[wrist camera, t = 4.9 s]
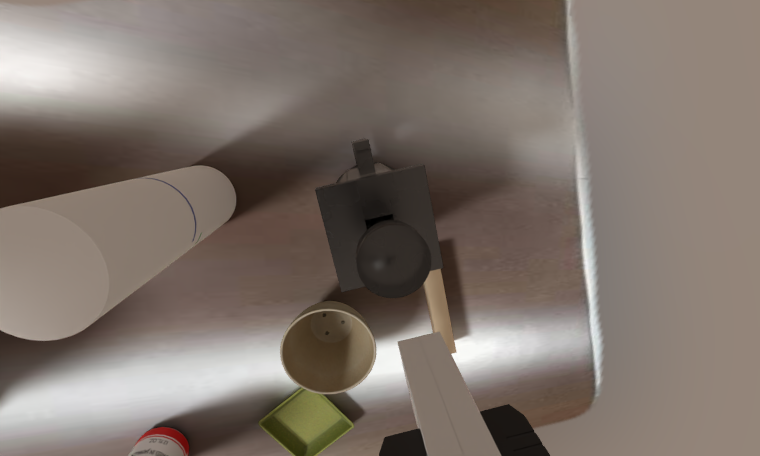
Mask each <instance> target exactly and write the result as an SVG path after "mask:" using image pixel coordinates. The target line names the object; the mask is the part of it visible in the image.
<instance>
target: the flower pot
mask: <svg viewBox="0 0 760 456" xmlns="http://www.w3.org/2000/svg"><path fill="white" fill-rule="evenodd" d="M323 315H325V317H324V316H323ZM328 332H329V334H327V333H328ZM280 355H281V361H282V365H283V367H284V369H285V371H286V373H287V375H288V376H289V377H290V378H291V379H292V380H293V381H294V382H295V383H296V384H297V385H299V386H300V387H302V388H304V389H306V390H308V391H311V392H314V393H318V394H336V393H341V392H345V391H347V390H350V389H352V388H354V387H355V386H357V385H358V384H360V383H361V382H362V381H363V380H364V379H365V378H366V377H367V376H368V374H369V373H370V371H371V370H372V367H373V365H374V362H375V358H376V344H375V340H374V337H373V334H372V332H371V329H370V327H369V326H368V324H367V322H366V321H365V320H364V318H363V317H362V316H361V315H360V314H359V313H358V312H357V311H356V310H355V309H353V308H352V307H350V306H348V305H346V304H344V303H341V302H337V301H325V302H320V303H317V304H315V305H312V306H310V307H309V308H307V309H306V310H304V311H303V312H302V313H301V314H299V315H298V316H297V317H296V318H295V320H294V321H293V322H292V323H291V324H290V326H289V327H288V329H287V331H286V332H285V334H284V336H283V339H282V342H281V348H280Z"/></svg>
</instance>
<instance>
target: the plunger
mask: <svg viewBox="0 0 760 456" xmlns="http://www.w3.org/2000/svg"><path fill="white" fill-rule="evenodd" d="M365 223H366V227H367V230H366V232H365V233H364V234H363V235H362V236H361V238H360V240H359V242H358V245H357V249H356V264H357V271H358V274H359V277H360V279H361V281H362V282H363V284H364V285H365V286H366V287H367V288H368V289H369V290H370V291H371V292H373V293H375V294H377V295H379V296H382V297H386V298H399V297H404V296H407V295H409V294H411V293H413V292H415V291H416V290H417V289H419V288H420V287H421V286H422V285H423V283H424V282H425V281H426V279H427V277H428V275H429V273H430V269H431V253H430V249H429V247H428V245H427V243H426V242H425V240H424V239H423V238H422V236H421V235H420V234H419V232H418V231H417V230H416V229H415V228H414V227H412V226H411V225H409V224H407V223H405V222H402V221H397V220H393V219H392V214H389V215H385V216H381V217H376V218H372V219H368V220H365Z"/></svg>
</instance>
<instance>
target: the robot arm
mask: <svg viewBox="0 0 760 456" xmlns="http://www.w3.org/2000/svg"><path fill="white" fill-rule="evenodd" d="M398 346H399V350H400V354H401V359H402V363H403V368H404V372H405V376H406V381H407V385H408V389H409V394H410V398H411V403H412V407H413V411H414V415H415V419H416V423H417V426H418V429H415V430H411V431H407V432H403V433H399V434H395V435H391V436H388V437H385V438H384V441H383V444H382V447H381V450H380V453H379V456H550V454H549V453H548V451H547V450H546V448H545V447H544V446H543V445H542V442H541V441H540V439H539V437H538V436H537V434H536V433H534V430H533V428H532V427H531V425H530V424H529V422H528V420H527V419H526V417H525V416H524V415H523V414H522V413H520V412H519V411H517V410H516V409H515V408H513V407H512V406H510V405H509V404H508V405H504V406H500V407H496V408H492V409H488V410H484V411H480V412H479V410H478V408H477V406H476V404H475V402H474V400H473V398H472V396H471V394H470V392H469V390H468V387H467V385H466V383H465V381H464V379H463V377H462V375H461V373H460V371H459V369H458V367H457V365H456V363H455V361H454V359H453V357H452V355H451V353H450V351H449V349H448V347H447V345H446V343H445V341H444V339H443V337H442V335H441V333H440V331H439V332H435V333H431V334H427V335H423V336H419V337H415V338H411V339H407V340H403V341H399V342H398Z"/></svg>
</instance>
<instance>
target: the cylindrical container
mask: <svg viewBox="0 0 760 456" xmlns="http://www.w3.org/2000/svg"><path fill="white" fill-rule="evenodd" d="M235 207H236V193H235V190H234V187H233V185H232V183H231V182H230V180H229V179H228V178H227V177H226V176H225V175H224V174H223V173H222V172H220V171H219V170H217V169H215V168H212V167H209V166H203V165H198V166H191V167H186V168H182V169H177V170H172V171H168V172H163V173H159V174H154V175H150V176H145V177H140V178H136V179H131V180H127V181H122V182H117V183H113V184H108V185H104V186H99V187H94V188H90V189H85V190H81V191H76V192H72V193H67V194H62V195H58V196H53V197H49V198H44V199H40V200H35V201H31V202H26V203H22V204H17V205H12V206H8V207H4V208H0V330H1V331H3V332H5V333H8V334H10V335H13V336H16V337H19V338H24V339H28V340H37V341H50V340H59V339H63V338H66V337H70V336H73V335H75V334H77V333H79V332H81V331H83V330H84V329H86V328H87V327H88V326H90V325H91V324H92V323H94V322H95V321H96V320H98V319H99V318H100V317H102V316H103V315H104V314H105V313H107V312H108V311H109V310H111V309H112V308H113V307H115V306H116V305H117V304H119V303H120V302H121V301H123V300H124V299H125V298H127V297H128V296H129V295H131V294H132V293H133V292H135V291H136V290H137V289H139V288H140V287H141V286H142V285H144V284H145V283H146V282H148V281H149V280H150V279H152V278H153V277H154V276H156V275H157V274H158V273H160V272H161V271H162V270H164V269H165V268H166V267H168V266H169V265H170V264H172V263H173V262H174V261H176V260H177V259H178V258H180V257H181V256H182V255H183V254H185V253H186V252H187V251H189V250H190V249H191V248H193V247H194V246H195V245H197V244H198V243H199V242H201V241H202V240H203V239H205V238H206V237H207V236H209V235H210V234H211V233H213V232H214V231H215V230H216V229H218V228H219V227H220V226H222V225H223V224H224V223H225V222H227V221H228V220H229V219H230V217H231V216H232V214H233V212H234V210H235Z"/></svg>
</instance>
